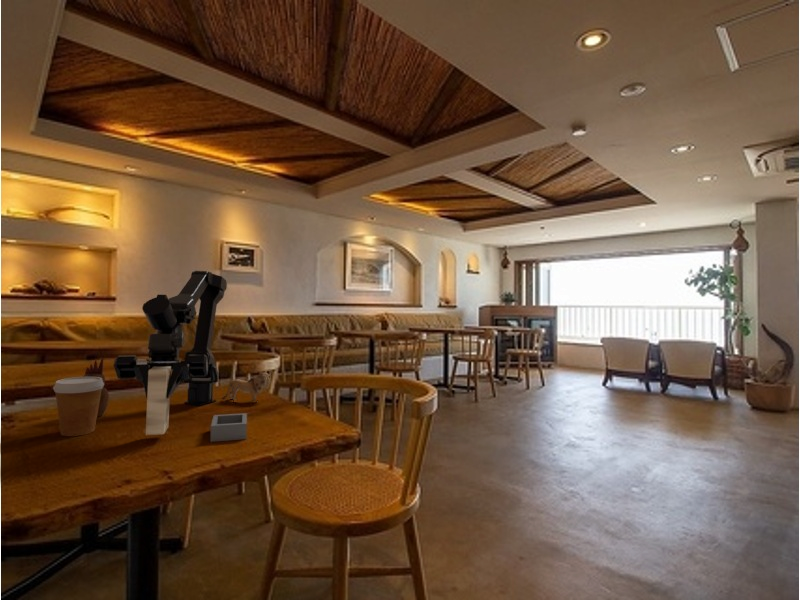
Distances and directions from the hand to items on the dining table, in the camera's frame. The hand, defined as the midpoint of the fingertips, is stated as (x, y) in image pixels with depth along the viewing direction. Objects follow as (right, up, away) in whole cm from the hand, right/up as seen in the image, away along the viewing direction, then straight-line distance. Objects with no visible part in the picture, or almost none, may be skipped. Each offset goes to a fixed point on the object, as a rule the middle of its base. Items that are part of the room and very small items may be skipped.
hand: (157, 397), depth 94 cm
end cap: (+13, -10, +6) cm, 18 cm away
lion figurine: (+6, -10, +38) cm, 40 cm away
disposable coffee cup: (-21, -9, +5) cm, 23 cm away
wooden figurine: (-27, -9, +17) cm, 33 cm away
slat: (-1, -8, +1) cm, 8 cm away
